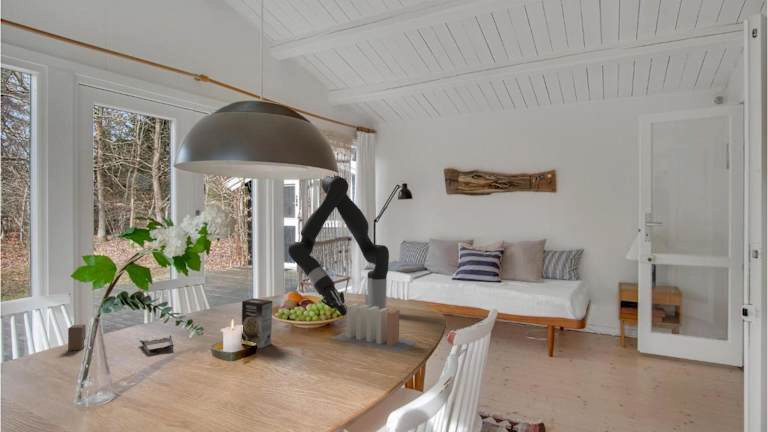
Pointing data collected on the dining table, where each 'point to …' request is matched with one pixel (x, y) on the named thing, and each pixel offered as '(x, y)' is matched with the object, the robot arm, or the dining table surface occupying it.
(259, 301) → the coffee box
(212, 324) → the dining table surface
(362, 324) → the domino
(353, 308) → the domino
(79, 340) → the wooden block
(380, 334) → the domino
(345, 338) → the grey ridged plate
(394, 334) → the domino
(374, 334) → the domino
